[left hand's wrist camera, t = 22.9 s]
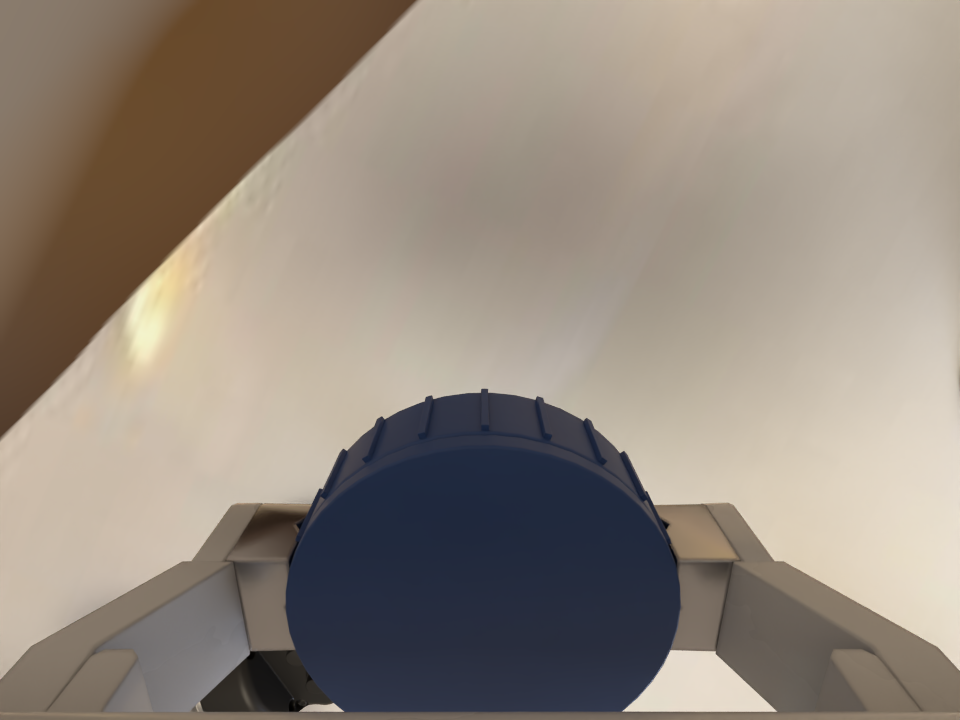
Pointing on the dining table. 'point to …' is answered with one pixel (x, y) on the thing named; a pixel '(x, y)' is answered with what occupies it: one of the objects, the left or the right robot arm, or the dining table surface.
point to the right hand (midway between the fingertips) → (550, 567)
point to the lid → (483, 566)
